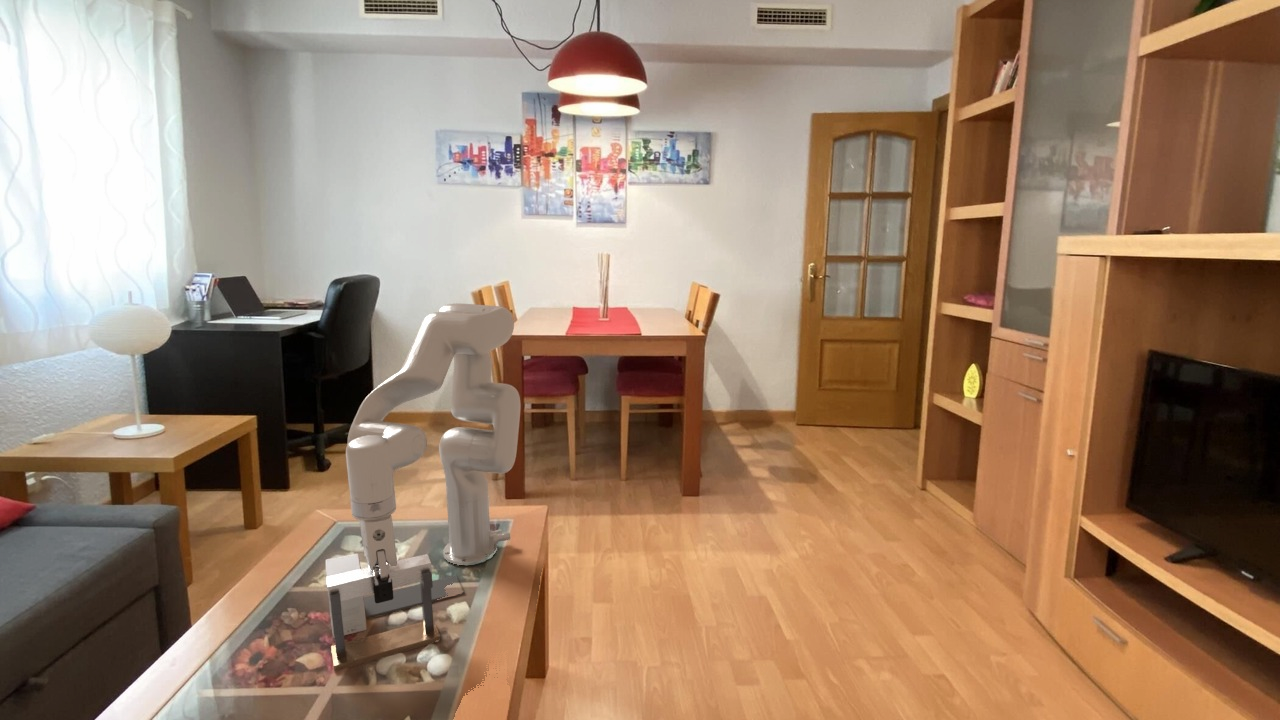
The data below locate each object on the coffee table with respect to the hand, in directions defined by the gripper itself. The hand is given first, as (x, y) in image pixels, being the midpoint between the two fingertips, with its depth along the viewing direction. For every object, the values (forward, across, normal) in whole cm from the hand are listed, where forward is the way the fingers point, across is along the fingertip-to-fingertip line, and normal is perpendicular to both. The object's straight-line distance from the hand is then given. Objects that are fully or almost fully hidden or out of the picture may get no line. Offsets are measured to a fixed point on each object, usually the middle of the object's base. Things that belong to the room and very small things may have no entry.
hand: (381, 589), depth 129 cm
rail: (-1, 0, 0) cm, 1 cm away
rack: (+12, 0, 0) cm, 12 cm away
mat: (+12, +14, -8) cm, 20 cm away
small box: (+13, +11, +6) cm, 18 cm away
